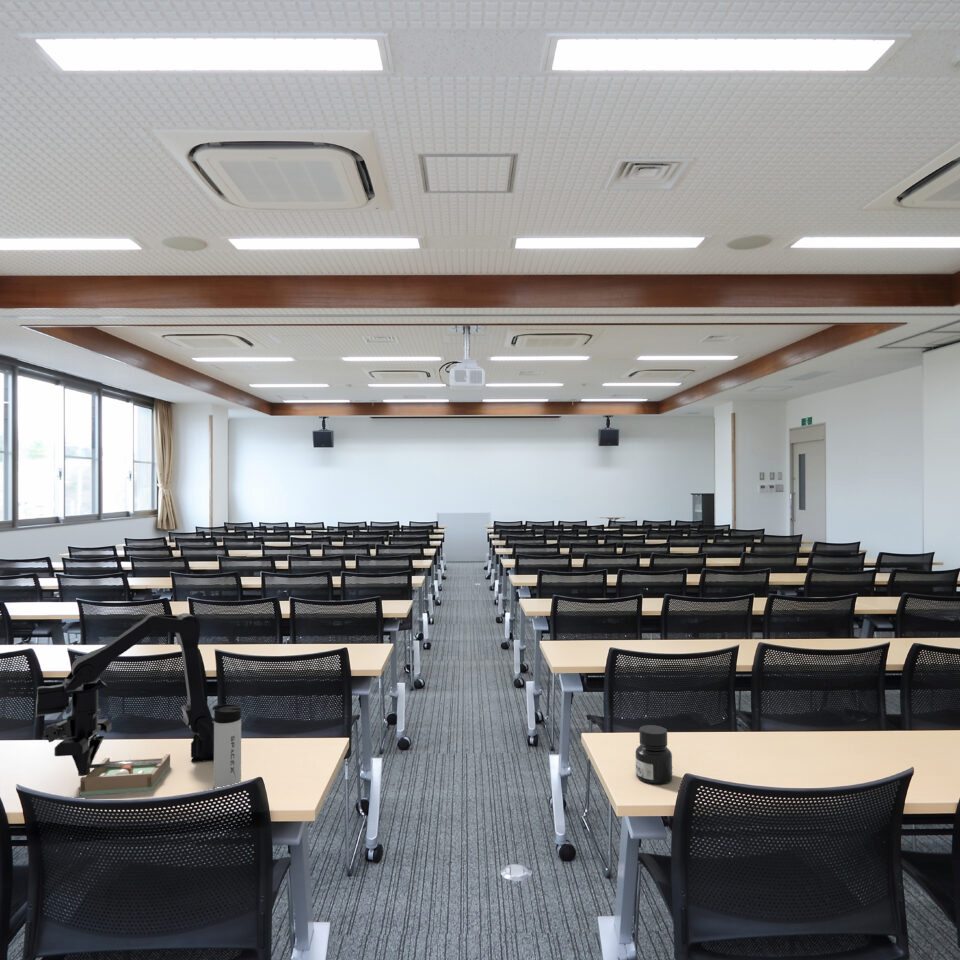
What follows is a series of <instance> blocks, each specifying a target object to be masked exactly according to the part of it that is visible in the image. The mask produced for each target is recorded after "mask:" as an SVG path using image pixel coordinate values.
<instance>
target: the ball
mask: <svg viewBox="0 0 960 960" xmlns="http://www.w3.org/2000/svg"><path fill="white" fill-rule="evenodd" d="M121 774H129V772H128V770H126V769H121V770H119V771H118V772H117V773H116V775H121Z"/></svg>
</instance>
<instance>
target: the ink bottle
mask: <svg viewBox="0 0 960 960" xmlns="http://www.w3.org/2000/svg"><path fill="white" fill-rule="evenodd" d="M638 734H639V744H640V745H639V746H637V747H636V749H635V776H636V778H637V779H638V780H639V781H641V782H644V783H646V784H650V785H651V784H652V785H665V784H668V783H671V781H672V780H673V754H672V751H671V750H670V749H669V748H668V729H667V728H665V727H662V726H660V725H654V724H648V725H642V726H640V727H639V733H638Z"/></svg>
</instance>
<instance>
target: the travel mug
mask: <svg viewBox="0 0 960 960" xmlns="http://www.w3.org/2000/svg"><path fill="white" fill-rule="evenodd" d="M212 711H214V713H213V714H214V718H213V721H214V761H213V789H214V788H217V787H223V786H227V785H232V784H235V783H239V782H241V783H242V709H241V706H239V705H236V704H214V706H213V707H212Z"/></svg>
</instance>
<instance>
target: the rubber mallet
mask: <svg viewBox="0 0 960 960" xmlns="http://www.w3.org/2000/svg"><path fill="white" fill-rule="evenodd" d="M150 764H162V760H153V761H137V762H121V763H105V764H100V763H92V764H90V759H89V762H88V765H87V767H86V770H85V773H84V774H79V773H78V772H77V775H78V777H86V776H87V775H88V774H89V773H90V772H91V769H94V768H103V767H118V766H121V769H126V770H128V772H129V774H133V766H134V765H150Z"/></svg>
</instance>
